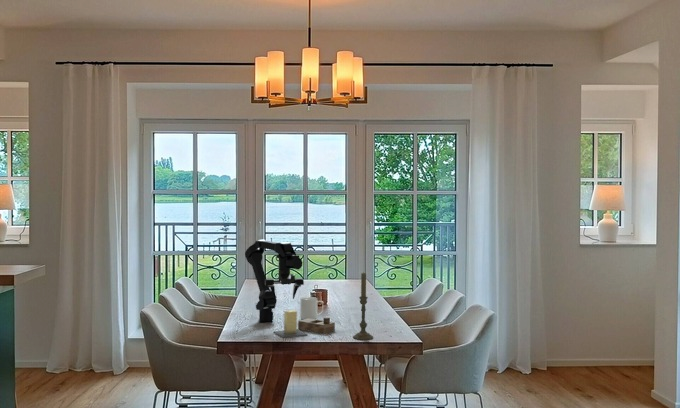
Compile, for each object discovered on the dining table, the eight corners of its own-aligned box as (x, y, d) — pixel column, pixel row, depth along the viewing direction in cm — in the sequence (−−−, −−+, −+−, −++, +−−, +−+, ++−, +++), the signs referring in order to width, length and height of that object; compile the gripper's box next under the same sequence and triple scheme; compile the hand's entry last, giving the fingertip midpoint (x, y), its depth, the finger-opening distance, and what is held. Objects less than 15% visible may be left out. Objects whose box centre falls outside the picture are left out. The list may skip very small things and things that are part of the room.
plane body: (298, 329, 295) (298, 315, 295) (308, 326, 301) (308, 313, 301) (324, 333, 285) (324, 319, 285) (334, 330, 292) (334, 317, 292)
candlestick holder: (372, 335, 282) (372, 270, 282) (374, 340, 273) (374, 273, 273) (352, 335, 282) (353, 270, 282) (353, 340, 273) (354, 272, 272)
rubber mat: (273, 332, 286) (273, 331, 286) (297, 330, 292) (297, 329, 292) (283, 338, 275) (283, 336, 275) (307, 335, 281) (307, 334, 281)
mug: (299, 321, 314) (299, 299, 313) (300, 317, 322) (301, 296, 322) (323, 321, 314) (323, 299, 313) (323, 318, 322) (323, 297, 322)
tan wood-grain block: (284, 332, 284) (284, 311, 284) (294, 331, 286) (294, 310, 286) (286, 334, 281) (286, 312, 281) (296, 333, 283) (296, 311, 283)
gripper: (267, 269, 293) (266, 302, 293) (305, 269, 297) (305, 301, 297) (264, 267, 304) (264, 298, 304) (302, 266, 308) (301, 297, 308)
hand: (284, 299), depth 303 cm, fingers open, 9 cm apart
